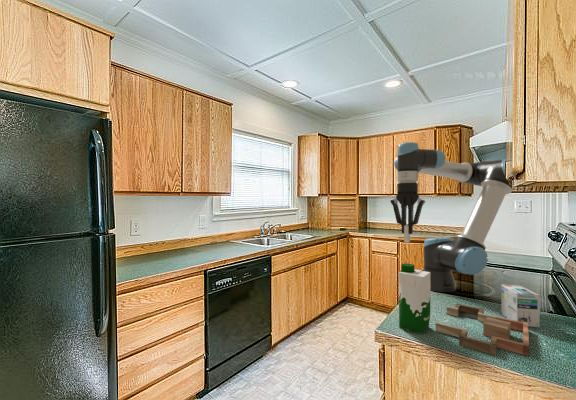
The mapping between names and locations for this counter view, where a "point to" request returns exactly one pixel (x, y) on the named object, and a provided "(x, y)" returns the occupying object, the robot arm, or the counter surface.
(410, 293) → the milk carton
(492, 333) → the block
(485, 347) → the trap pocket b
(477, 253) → the robot arm
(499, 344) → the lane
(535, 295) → the light bulb box
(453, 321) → the counter surface
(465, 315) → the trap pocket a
